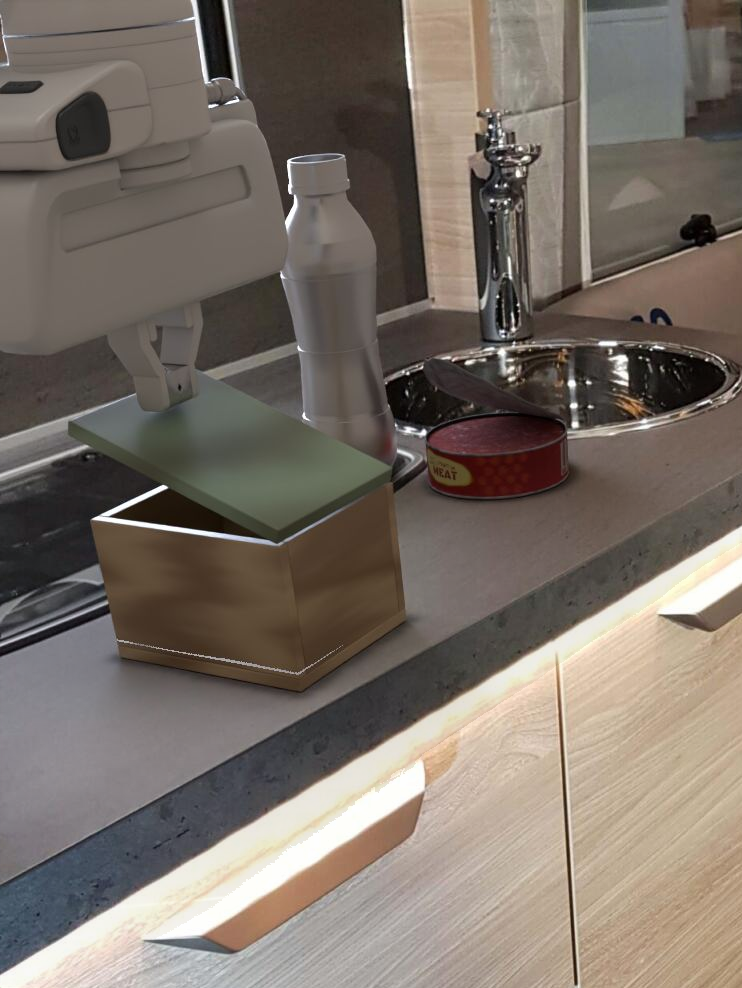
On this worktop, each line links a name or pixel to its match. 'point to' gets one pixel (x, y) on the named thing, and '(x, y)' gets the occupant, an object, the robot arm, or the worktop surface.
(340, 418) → the plastic bottle
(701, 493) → the worktop surface
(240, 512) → the lid
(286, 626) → the chest
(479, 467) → the canned food
